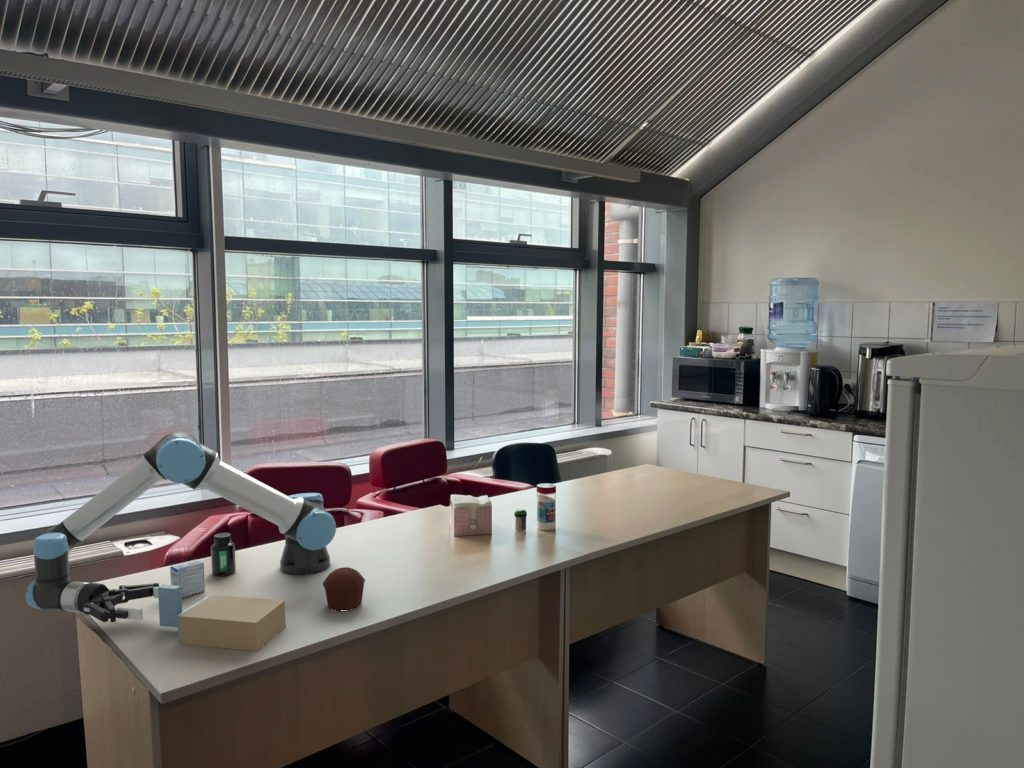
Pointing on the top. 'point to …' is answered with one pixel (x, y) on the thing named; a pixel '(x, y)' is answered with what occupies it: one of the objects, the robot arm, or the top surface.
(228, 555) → the supplement bottle
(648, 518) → the top surface
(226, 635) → the drawer cabinet
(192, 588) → the medicine box
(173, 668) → the top surface
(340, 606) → the muffin
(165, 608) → the blue-handled drawer
